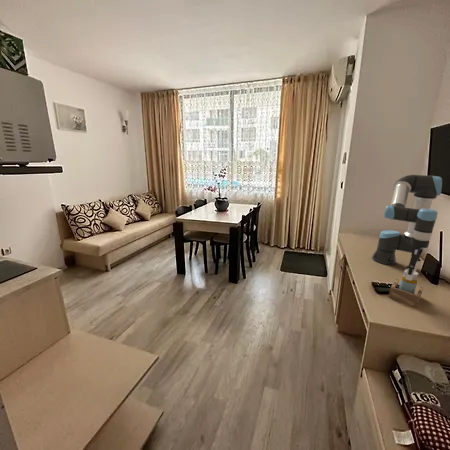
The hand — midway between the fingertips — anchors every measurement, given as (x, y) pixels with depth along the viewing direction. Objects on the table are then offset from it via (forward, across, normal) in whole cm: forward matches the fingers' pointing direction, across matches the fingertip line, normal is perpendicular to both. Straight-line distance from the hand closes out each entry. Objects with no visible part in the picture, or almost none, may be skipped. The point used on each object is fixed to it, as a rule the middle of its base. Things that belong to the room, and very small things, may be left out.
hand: (410, 275), depth 134 cm
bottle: (+13, 0, 0) cm, 13 cm away
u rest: (+13, +1, 0) cm, 13 cm away
